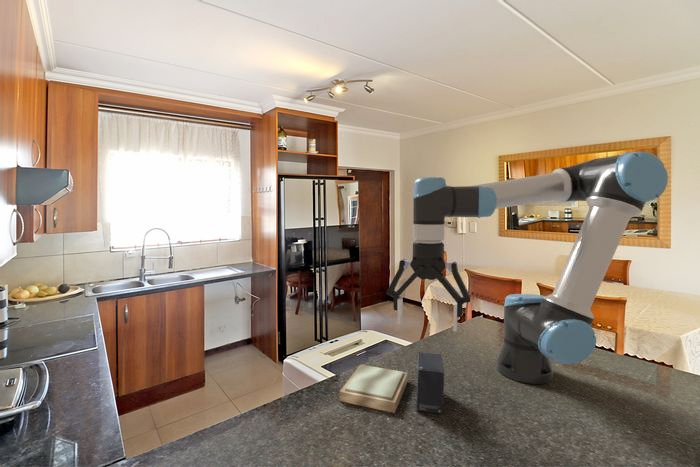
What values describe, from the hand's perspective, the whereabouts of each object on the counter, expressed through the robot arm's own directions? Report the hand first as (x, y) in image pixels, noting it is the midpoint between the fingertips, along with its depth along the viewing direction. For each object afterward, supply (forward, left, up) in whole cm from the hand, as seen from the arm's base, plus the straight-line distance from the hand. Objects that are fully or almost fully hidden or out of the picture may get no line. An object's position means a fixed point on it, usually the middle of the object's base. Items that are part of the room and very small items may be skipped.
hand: (426, 326), depth 87 cm
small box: (-1, +1, -19) cm, 19 cm away
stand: (+13, +1, -19) cm, 23 cm away
